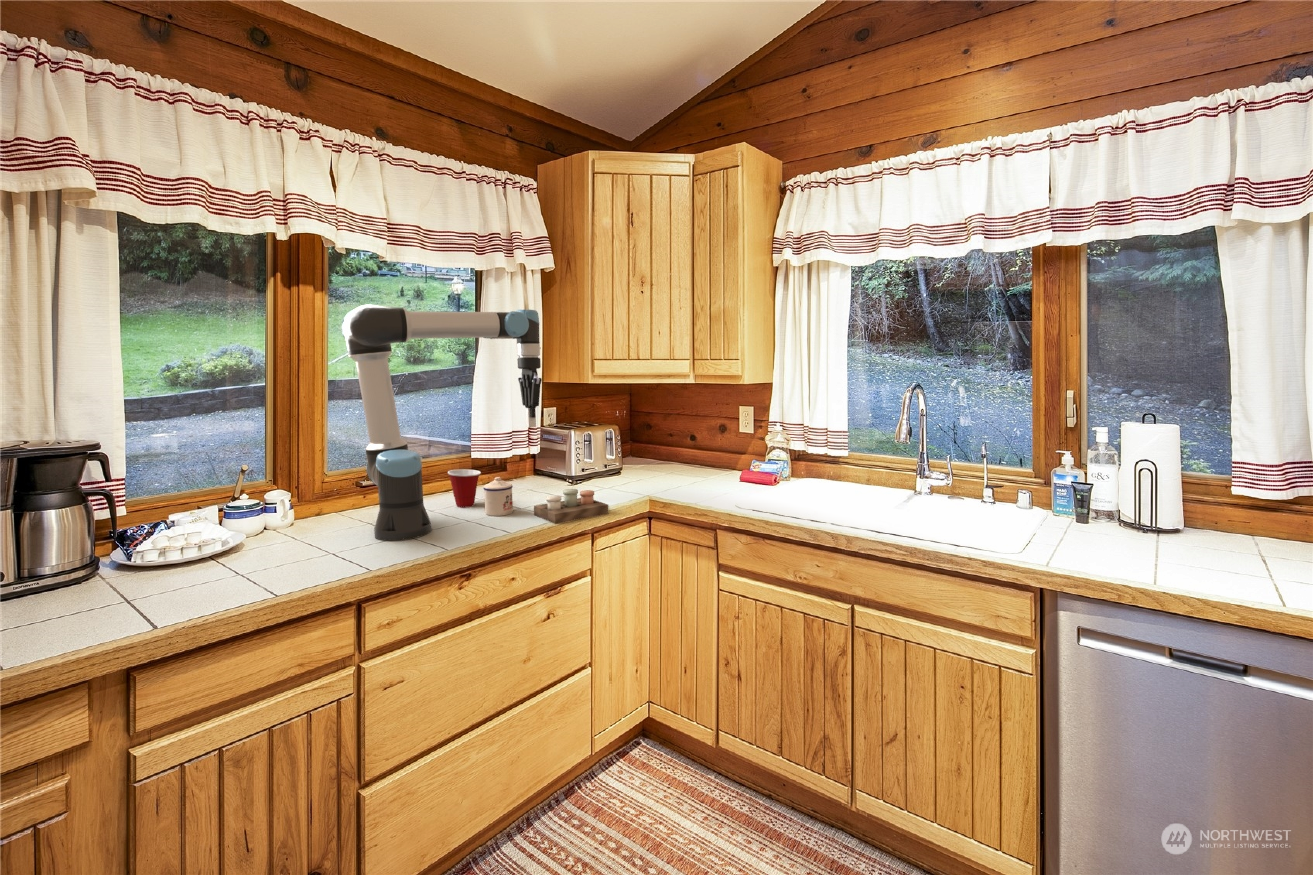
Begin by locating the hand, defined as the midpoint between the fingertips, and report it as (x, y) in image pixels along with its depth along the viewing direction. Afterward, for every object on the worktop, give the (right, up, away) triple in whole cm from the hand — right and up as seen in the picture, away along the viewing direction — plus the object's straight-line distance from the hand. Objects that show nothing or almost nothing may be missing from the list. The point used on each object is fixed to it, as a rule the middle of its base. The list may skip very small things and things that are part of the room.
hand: (531, 427), depth 208 cm
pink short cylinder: (+20, -26, -9) cm, 34 cm away
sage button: (+15, -25, -13) cm, 32 cm away
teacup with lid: (-8, -28, -8) cm, 30 cm away
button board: (+15, -28, -13) cm, 34 cm away
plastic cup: (-22, -27, +1) cm, 35 cm away
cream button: (+10, -27, -17) cm, 34 cm away
